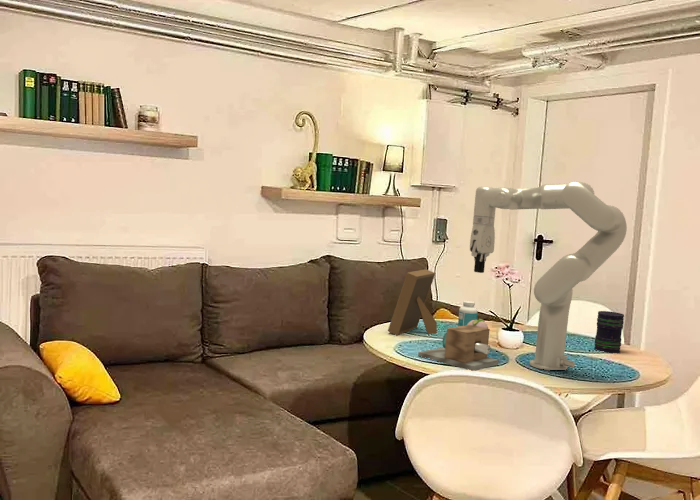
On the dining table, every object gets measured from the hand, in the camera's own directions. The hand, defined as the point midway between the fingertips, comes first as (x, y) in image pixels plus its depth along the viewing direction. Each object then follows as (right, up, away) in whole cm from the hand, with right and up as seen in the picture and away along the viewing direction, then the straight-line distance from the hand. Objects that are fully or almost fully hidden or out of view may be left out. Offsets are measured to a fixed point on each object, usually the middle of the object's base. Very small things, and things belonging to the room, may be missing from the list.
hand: (478, 272), depth 253 cm
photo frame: (-20, -26, +30) cm, 44 cm away
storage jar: (+55, -32, +24) cm, 68 cm away
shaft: (-7, -27, -16) cm, 32 cm away
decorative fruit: (+2, -28, +20) cm, 34 cm away
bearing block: (-10, -30, -13) cm, 34 cm away
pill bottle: (+1, -27, +35) cm, 44 cm away
